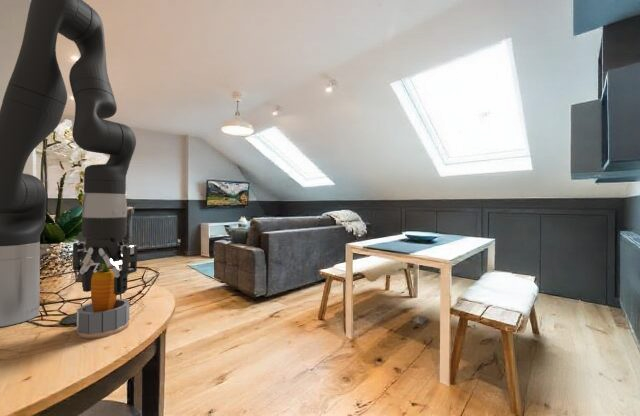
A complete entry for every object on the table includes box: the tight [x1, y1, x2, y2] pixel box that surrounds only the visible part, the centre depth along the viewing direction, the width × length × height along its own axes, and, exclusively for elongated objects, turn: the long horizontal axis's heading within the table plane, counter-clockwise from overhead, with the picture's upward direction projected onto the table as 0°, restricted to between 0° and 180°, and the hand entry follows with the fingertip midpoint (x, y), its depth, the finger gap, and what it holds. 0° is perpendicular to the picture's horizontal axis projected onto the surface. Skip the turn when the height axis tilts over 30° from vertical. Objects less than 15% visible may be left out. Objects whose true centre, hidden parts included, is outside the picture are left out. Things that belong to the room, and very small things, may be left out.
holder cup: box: [76, 298, 131, 340], centre depth 59 cm, size 9×9×5 cm
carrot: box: [90, 259, 119, 312], centre depth 59 cm, size 5×5×15 cm
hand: (104, 292), depth 59 cm, fingers open, 7 cm apart
